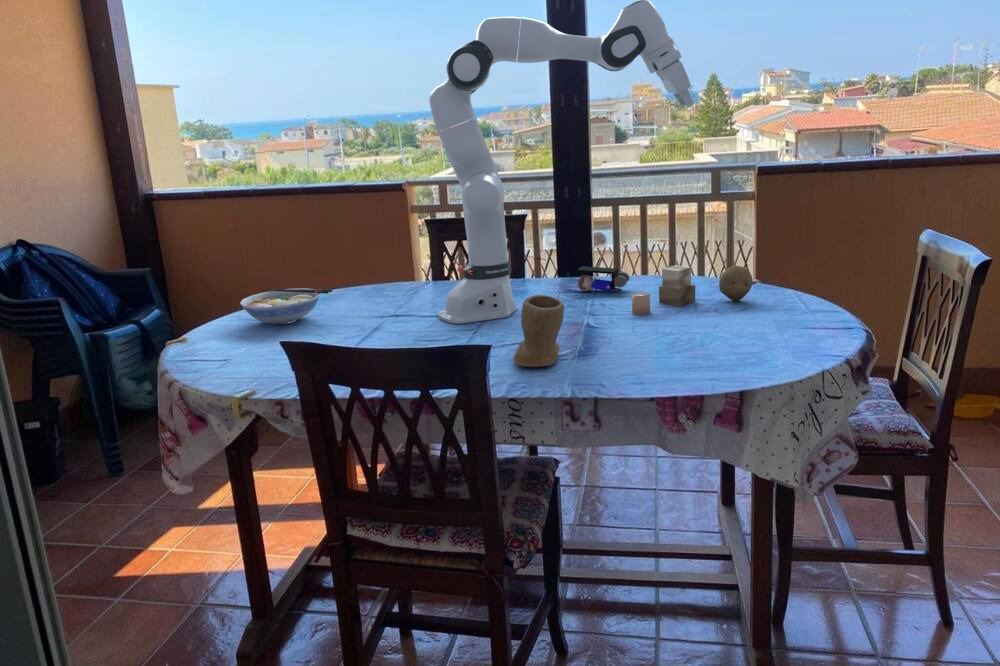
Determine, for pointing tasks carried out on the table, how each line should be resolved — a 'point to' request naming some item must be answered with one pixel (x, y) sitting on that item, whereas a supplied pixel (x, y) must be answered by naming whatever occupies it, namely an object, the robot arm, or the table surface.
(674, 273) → the tower top
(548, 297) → the stone cup
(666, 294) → the tower base
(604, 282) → the toy car
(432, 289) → the table surface
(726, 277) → the natural sponge
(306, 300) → the ramen bowl
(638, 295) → the tan rounded cylinder
